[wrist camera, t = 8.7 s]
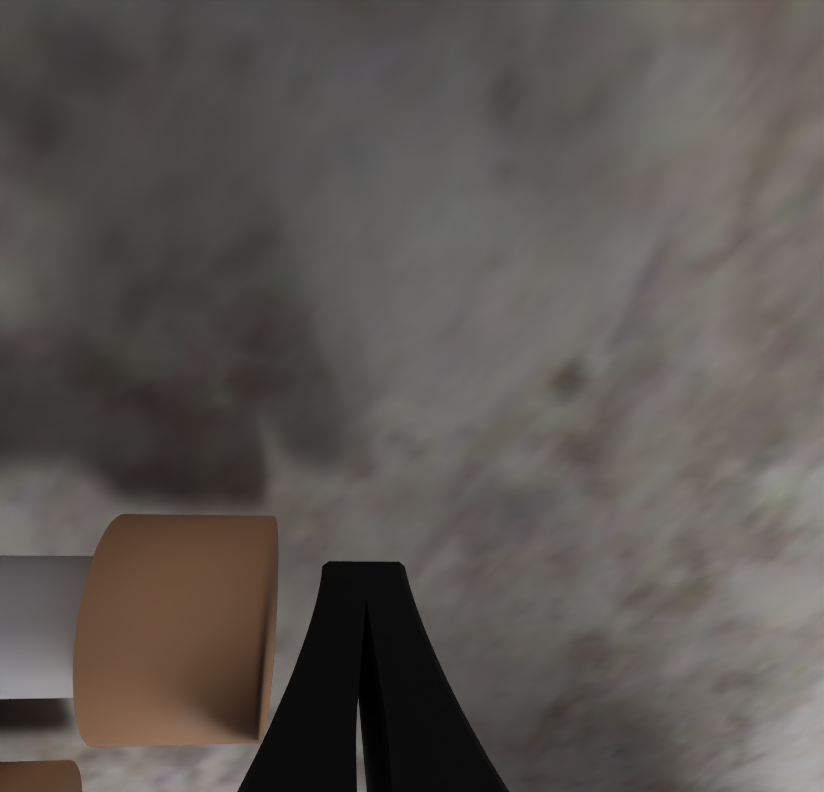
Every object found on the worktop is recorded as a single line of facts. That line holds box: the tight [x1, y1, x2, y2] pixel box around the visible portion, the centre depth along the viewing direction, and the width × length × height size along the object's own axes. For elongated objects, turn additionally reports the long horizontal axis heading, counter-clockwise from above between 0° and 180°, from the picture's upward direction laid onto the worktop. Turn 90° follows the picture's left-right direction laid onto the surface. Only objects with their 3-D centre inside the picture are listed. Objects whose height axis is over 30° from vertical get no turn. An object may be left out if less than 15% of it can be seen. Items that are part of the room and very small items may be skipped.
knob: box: [0, 514, 278, 747], centre depth 11 cm, size 8×4×4 cm, turn 85°
